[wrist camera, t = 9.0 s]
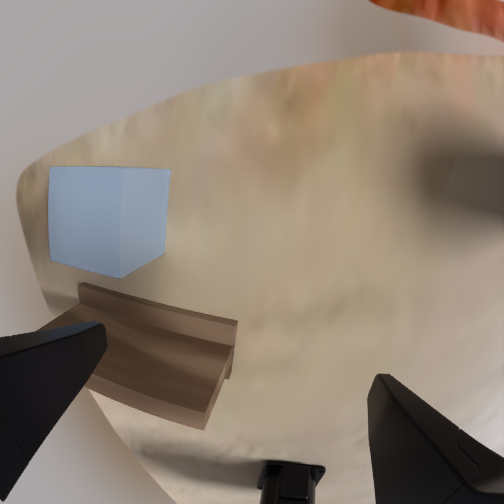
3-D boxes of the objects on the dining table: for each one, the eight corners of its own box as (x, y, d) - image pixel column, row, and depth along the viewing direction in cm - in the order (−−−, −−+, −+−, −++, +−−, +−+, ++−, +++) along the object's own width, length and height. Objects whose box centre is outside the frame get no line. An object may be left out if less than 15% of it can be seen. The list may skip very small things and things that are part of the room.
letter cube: (165, 253, 21) (120, 280, 15) (101, 242, 21) (50, 261, 16) (171, 169, 19) (123, 167, 13) (104, 166, 20) (49, 166, 14)
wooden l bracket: (230, 373, 22) (203, 446, 14) (88, 330, 24) (35, 373, 16) (237, 321, 21) (206, 390, 13) (83, 282, 22) (19, 317, 15)
